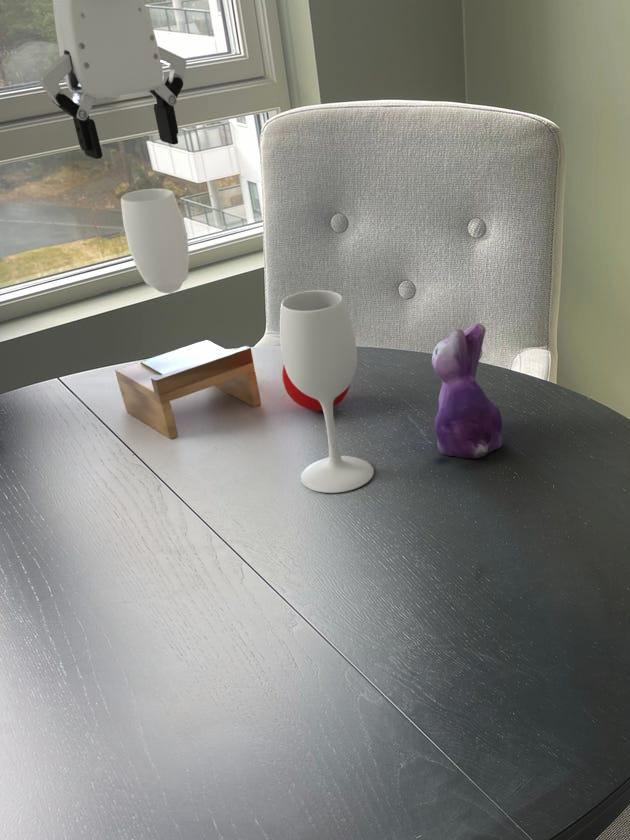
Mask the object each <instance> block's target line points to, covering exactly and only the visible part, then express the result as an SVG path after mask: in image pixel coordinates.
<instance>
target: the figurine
mask: <svg viewBox="0 0 630 840" xmlns="http://www.w3.org/2000/svg"><path fill="white" fill-rule="evenodd" d="M486 332H487V331H486V327H485V325H483V324H482V323H480V322H475V323H473V324H471V325H470V326H468V327H467V328H466V329H465V330H463V329H460V328H455V329H453V330H452V331H451V332H450V334H449V336H448V337H447V338H444V339H442V340H441V341H439V342H438V343H437V344H436V346H435V347H434V349H433V351H432V357H431V364H432V366H433V369H434V371H435V373H436V374H437V376H439V378H440V379H441V381H442V383H441V388H440V391H439V396H438V412H437V413H436V416H435V420H434V432H435V436H436V440H437V441H436V442H437V448H438V451H439V453H440V454H442V455H444V456H447V457H451V456H452V457H457V458H462V459H479V458H483V457H485V456H486V455H487V454H489V453H492V452H494V451H497V450H498V449H501V447H502V445H503V438H502V432H503V431H502V429H503V419H502V414H501V411H500V409H499V407H497V405H496V404H495V403H493V402H492V401H491V400H490V399H489V398H488V396H487V395H486V394H485V391H484V390H483V388H482V387H481V386H480V385H479V383H478V382H477V380H476V376H477V371H478V366H479V362H480V357H481V352H482V349H483V346H484V345H483V344H484V340H485V335H486Z"/></svg>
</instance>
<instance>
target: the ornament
mask: <svg viewBox="0 0 630 840" xmlns="http://www.w3.org/2000/svg"><path fill="white" fill-rule="evenodd" d="M281 376H282V377H281V379H282V383H283V386H284V389H285V391H286V393H287V395H288V396H289V397H290V398H291V399H292V401H293V402H294V403H296V404H297V405H298V406H300V407H302V408H304V409H307V410H310V411H315V412H319V411H320V412H321V411H322V412H323V408H322V406H321V403H320V402H319V401H318V400H317V399H314V398H312V397H309V396H308V395H306V394H304V393H303V392H301V391H300V390H299V389H298V388H297V387H296V386H295V385H294V384H293V383H292V382H291V380H290V378H289V377H288V375H287V372H286V369H285V366H284V363H283V364H282V372H281ZM350 387H351V384H350V385H349V386H348V387H347V389H346V390H345V391H344V392H342V393H341V394H340V395H338V396H337V397H336V398H335V399H334V402H333V408H335V407H336V406H337V405H338V404H339V403H341V402H342V401H343V400H344V398H345V397H346V395H347V394H348V392H349V389H350Z"/></svg>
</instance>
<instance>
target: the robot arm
mask: <svg viewBox="0 0 630 840" xmlns="http://www.w3.org/2000/svg"><path fill="white" fill-rule="evenodd" d="M52 7H53V17H54V27H55V33H56V41H57V45H58V52H59V58H58V59H57V60H56V61H55V62H54V63H53V64H52V65H50V66H49V67H48V68H47V69H46V70H45V71H44V72H42V73H41V74H40V75H39V76H38V83H39V84H40V87H42V88H43V90H44V91H45V93H46V94H47V95H48V96H49V97H50V99H51V102H52V103H53V104H54V105H56V106H57V107H58V108H59V109H61V110H62V111H63V112H65V113H66V114H67V116H69V118H72V120H73V124H74V128H75V132H76V136H77V140H78V144H79V147H80V149H81V150H82V151H83V152H84V154H85V156H87V157H90V158H92V159H95V160H98V159H102V158H103V152H102V151H103V150H102V148H101V147H102V146H101V143H100V139H99V134H98V130H97V125H96V123H95V120H94V119H93V118H90V113H91V110H92V108H93V105H94V103H95V101H96V99H104V98H111V97H119V96H124V95H131V94H137V93H144V92H148V93H149V94H150V95H151V96H152V97H153V98H154V99H155V101H156V103H153V111H154V116H155V121H156V126H157V131H158V136H159V139H160V141H161V142H162V143H166V144H169V145H173V146H175V145H178V144H179V139H178V134H179V128H178V123H177V122H178V121H177V117H176V112H175V108H174V106H176V105H177V103H178V96H179V94H180V93H181V90H182V89H183V87H184V78H185V74H186V68H187V60H186V59H185V58H184V57H182V56H179V55H178V54H175V53H174V52H171V51H169V50H167V49H165V48H163V47H161V46H159V45H158V42H157V41H158V40H157V39H156V34H155V31H154V27H153V24H152V23H153V22H152V21H151V17H150V14H149V11H148V9H147V6H146V2H145V0H52ZM163 64H166V65H167V66H168V67H169V76H168V77H167V78H166V79H165V80H164V78H165V75H164V68H163ZM63 79H64V80H65V84H66V86H67V88H68V90H69V91H70V92H71V93H72V95H71V97H68V96H67V95H66V94H65V93H64V92H63V90H62V88H61V87H60V82H61V81H62V80H63ZM164 81H165V82H164Z"/></svg>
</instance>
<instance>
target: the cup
mask: <svg viewBox="0 0 630 840" xmlns="http://www.w3.org/2000/svg"><path fill="white" fill-rule="evenodd" d="M120 204H121V216H122V224H123V230H124V232H125V233H124V234H125V238H126V243H127V248H128V250H129V253H130V255H131V257H132V260H133V262H134V264H135V267H136V269H137V270H138V273H139V274H140V276H141V277H142V279H143V281H144V283H145V284H147V286H152V287H153V288H154V289H155V290H156V291H158V292H159V293H163V294H169V295H170V294H173V293H175V292H177V291H178V290H180V289H181V287H182V285H183V283H184V282H185V281H187V280H188V278H189V269H190V268H189V266H190V253H189V252H190V251H189V239H188V235H187V230H186V226H185V223H184V218H183V215H182V212H181V209H180V207H179V204H178V201H177V199H176V196H175V192H174V191H172V190H171V189H166V188H145V189H138V190H134V191H130V192H127V193H124V194H123V195H121V197H120Z"/></svg>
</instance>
